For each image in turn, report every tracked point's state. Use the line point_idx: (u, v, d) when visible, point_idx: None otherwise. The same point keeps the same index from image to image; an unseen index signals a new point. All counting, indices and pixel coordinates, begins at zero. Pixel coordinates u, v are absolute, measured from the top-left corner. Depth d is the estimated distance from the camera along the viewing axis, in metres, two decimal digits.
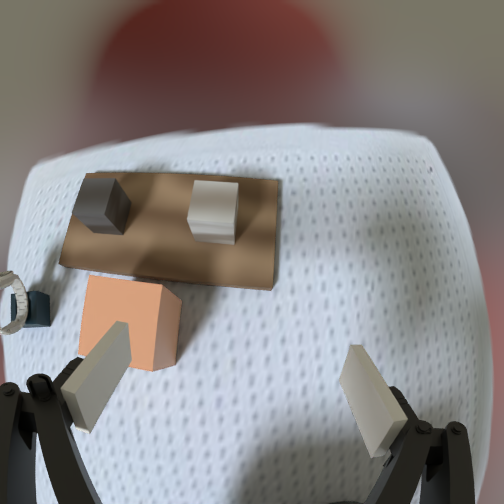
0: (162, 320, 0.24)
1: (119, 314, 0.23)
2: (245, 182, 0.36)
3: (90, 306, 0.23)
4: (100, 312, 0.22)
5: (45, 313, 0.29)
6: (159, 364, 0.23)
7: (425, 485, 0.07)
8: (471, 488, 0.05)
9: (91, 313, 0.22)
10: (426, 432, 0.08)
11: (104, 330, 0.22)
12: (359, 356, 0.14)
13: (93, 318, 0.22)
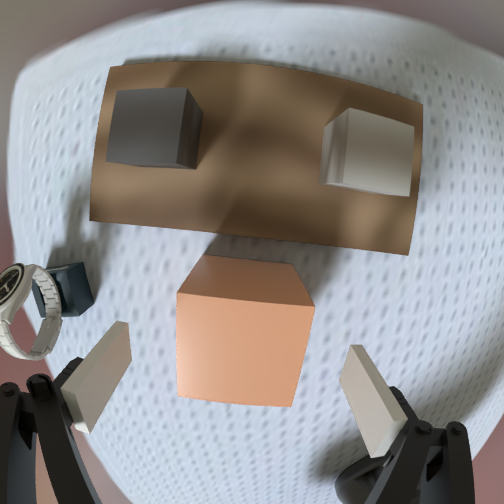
0: None
1: (243, 350, 0.16)
2: (384, 97, 0.19)
3: (188, 340, 0.16)
4: (209, 348, 0.16)
5: (84, 292, 0.23)
6: None
7: (425, 484, 0.07)
8: (471, 488, 0.04)
9: (192, 349, 0.16)
10: (427, 432, 0.08)
11: (218, 370, 0.16)
12: (359, 356, 0.14)
13: (197, 356, 0.16)
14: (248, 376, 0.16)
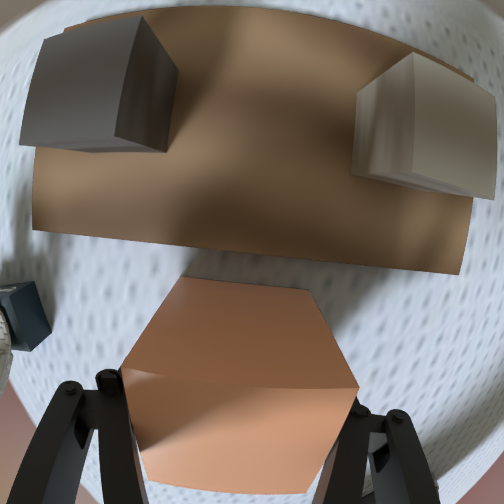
0: None
1: (237, 445, 0.09)
2: None
3: (150, 429, 0.08)
4: (183, 441, 0.08)
5: (37, 319, 0.16)
6: None
7: (376, 476, 0.08)
8: (428, 476, 0.06)
9: (159, 440, 0.09)
10: (364, 415, 0.10)
11: (201, 463, 0.09)
12: None
13: (167, 447, 0.09)
14: (245, 470, 0.09)
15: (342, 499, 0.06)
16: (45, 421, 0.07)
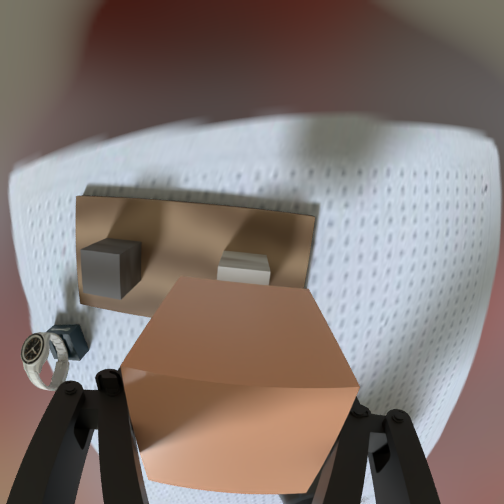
0: None
1: (237, 445, 0.09)
2: (276, 219, 0.30)
3: (150, 428, 0.08)
4: (183, 440, 0.08)
5: (82, 344, 0.34)
6: None
7: (376, 476, 0.08)
8: (428, 476, 0.06)
9: (159, 439, 0.08)
10: (364, 415, 0.10)
11: (201, 463, 0.09)
12: None
13: (167, 447, 0.09)
14: (245, 470, 0.09)
15: (342, 499, 0.06)
16: (45, 421, 0.07)
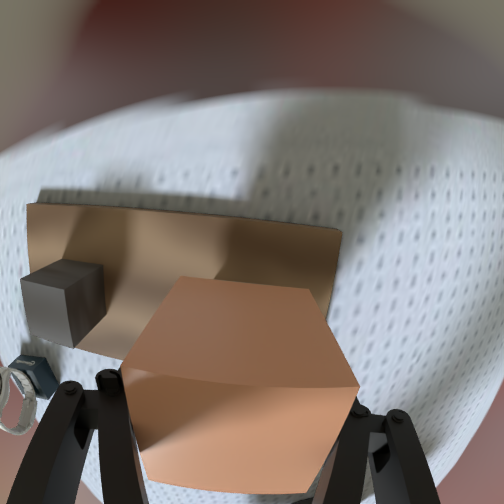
0: None
1: (237, 445, 0.09)
2: (287, 235, 0.21)
3: (150, 428, 0.08)
4: (183, 440, 0.08)
5: (50, 380, 0.25)
6: None
7: (376, 476, 0.08)
8: (428, 476, 0.06)
9: (159, 439, 0.08)
10: (364, 415, 0.10)
11: (201, 463, 0.09)
12: None
13: (167, 447, 0.09)
14: (245, 470, 0.09)
15: (342, 499, 0.06)
16: (45, 421, 0.07)
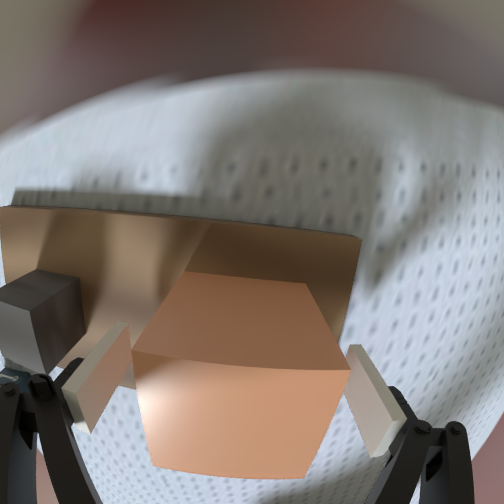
0: None
1: (238, 426, 0.09)
2: (296, 243, 0.17)
3: (156, 411, 0.09)
4: (187, 423, 0.09)
5: None
6: None
7: (424, 484, 0.07)
8: (471, 488, 0.05)
9: (164, 422, 0.09)
10: (426, 432, 0.08)
11: (204, 446, 0.10)
12: (358, 356, 0.14)
13: (172, 430, 0.10)
14: (245, 453, 0.10)
15: None
16: None
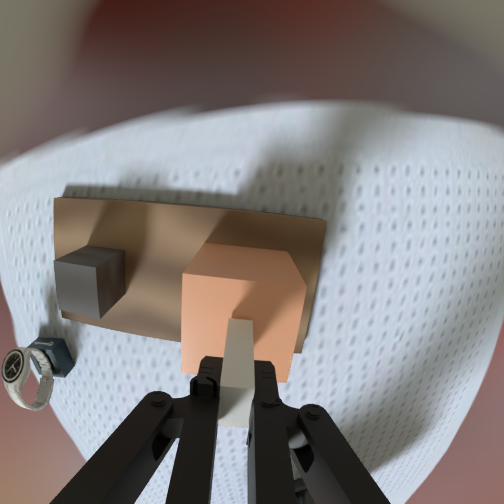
0: None
1: None
2: (280, 223, 0.25)
3: (192, 317, 0.18)
4: (211, 325, 0.18)
5: (67, 359, 0.30)
6: None
7: (305, 475, 0.08)
8: (364, 472, 0.07)
9: (196, 326, 0.18)
10: (275, 404, 0.10)
11: (219, 346, 0.18)
12: (241, 329, 0.16)
13: (200, 332, 0.18)
14: None
15: (275, 495, 0.06)
16: (122, 429, 0.08)
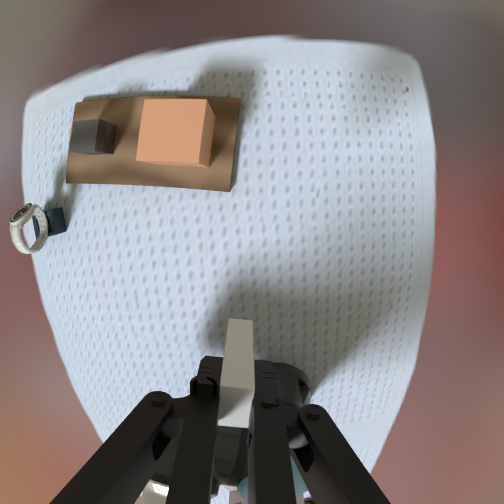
0: (205, 126, 0.31)
1: (171, 124, 0.29)
2: (211, 100, 0.37)
3: (146, 122, 0.29)
4: (155, 125, 0.29)
5: (61, 223, 0.41)
6: (201, 160, 0.32)
7: (305, 475, 0.08)
8: (364, 472, 0.07)
9: (147, 127, 0.29)
10: (275, 404, 0.10)
11: (159, 137, 0.29)
12: (241, 329, 0.16)
13: (149, 130, 0.29)
14: (173, 140, 0.29)
15: (275, 495, 0.06)
16: (122, 429, 0.08)
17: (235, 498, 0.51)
